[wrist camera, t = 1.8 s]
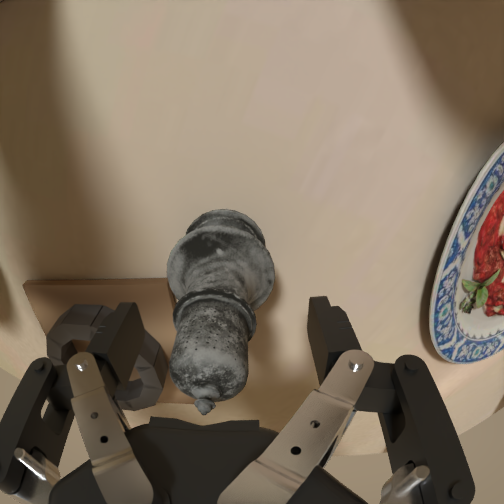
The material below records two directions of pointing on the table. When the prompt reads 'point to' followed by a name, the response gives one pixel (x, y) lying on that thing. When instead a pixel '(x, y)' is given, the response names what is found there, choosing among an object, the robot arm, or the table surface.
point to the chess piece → (216, 304)
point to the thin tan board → (88, 321)
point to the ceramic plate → (472, 274)
